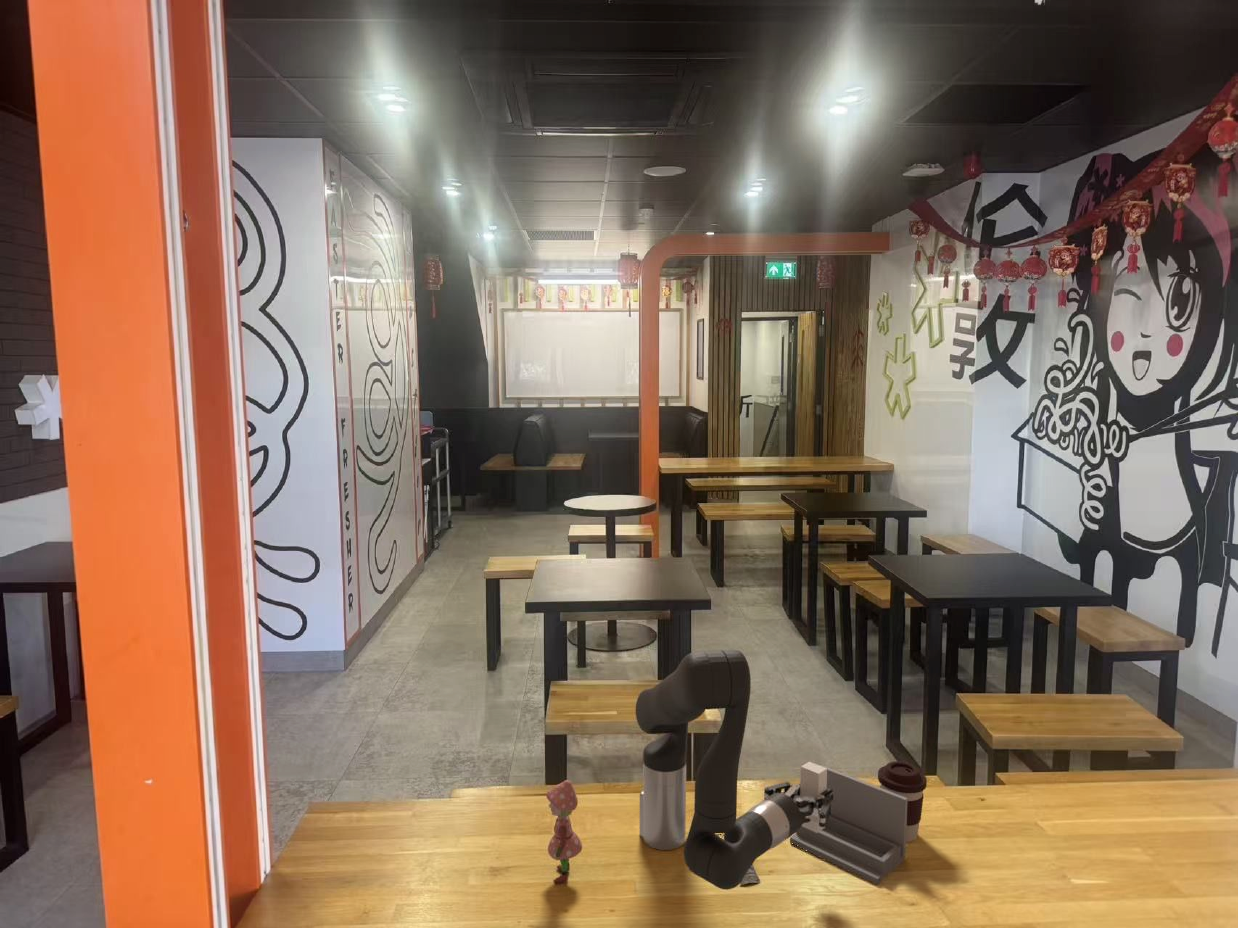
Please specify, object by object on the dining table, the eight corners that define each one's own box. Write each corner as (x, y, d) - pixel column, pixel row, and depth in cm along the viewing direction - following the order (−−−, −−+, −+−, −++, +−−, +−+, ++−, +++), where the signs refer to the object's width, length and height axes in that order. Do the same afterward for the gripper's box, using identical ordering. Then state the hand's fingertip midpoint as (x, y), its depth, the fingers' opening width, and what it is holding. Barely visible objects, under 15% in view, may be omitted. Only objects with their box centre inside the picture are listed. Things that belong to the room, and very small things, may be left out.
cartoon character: (579, 893, 150) (578, 794, 148) (542, 891, 151) (541, 792, 149) (585, 861, 160) (584, 768, 158) (550, 860, 161) (550, 767, 159)
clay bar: (799, 824, 154) (800, 766, 153) (807, 818, 156) (809, 761, 155) (817, 832, 151) (818, 773, 150) (825, 826, 153) (827, 768, 152)
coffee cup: (874, 841, 168) (876, 774, 166) (877, 817, 177) (879, 754, 175) (923, 851, 164) (926, 783, 162) (924, 826, 173) (927, 762, 172)
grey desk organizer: (789, 842, 167) (791, 783, 166) (819, 821, 175) (821, 764, 174) (877, 884, 153) (879, 820, 152) (905, 858, 161) (907, 798, 160)
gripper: (805, 817, 137) (854, 783, 149) (739, 788, 147) (790, 758, 159) (804, 857, 138) (853, 820, 150) (739, 825, 148) (789, 793, 160)
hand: (820, 788), depth 155 cm, fingers closed on clay bar, 4 cm apart
